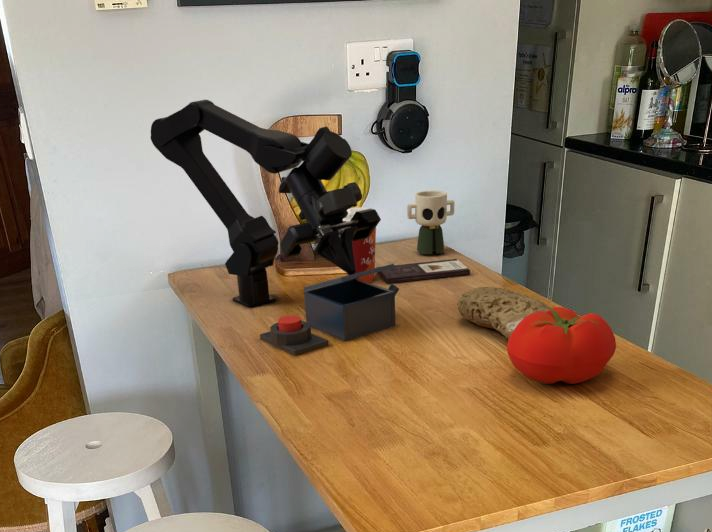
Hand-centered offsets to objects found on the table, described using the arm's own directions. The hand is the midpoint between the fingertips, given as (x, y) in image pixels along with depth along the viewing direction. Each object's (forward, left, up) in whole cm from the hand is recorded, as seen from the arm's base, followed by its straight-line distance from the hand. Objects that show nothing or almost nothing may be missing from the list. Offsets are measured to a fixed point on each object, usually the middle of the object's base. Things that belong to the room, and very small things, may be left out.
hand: (353, 273), depth 146 cm
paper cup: (-22, +19, -10) cm, 31 cm away
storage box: (-1, 0, -10) cm, 10 cm away
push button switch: (-1, -13, -10) cm, 16 cm away
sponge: (+20, +18, -10) cm, 28 cm away
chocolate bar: (-16, +31, -10) cm, 36 cm away
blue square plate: (-1, 0, -1) cm, 2 cm away
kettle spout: (+1, +7, -9) cm, 11 cm away
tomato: (+40, +9, -10) cm, 42 cm away
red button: (-1, -13, -7) cm, 15 cm away
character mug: (-27, +43, -10) cm, 52 cm away
